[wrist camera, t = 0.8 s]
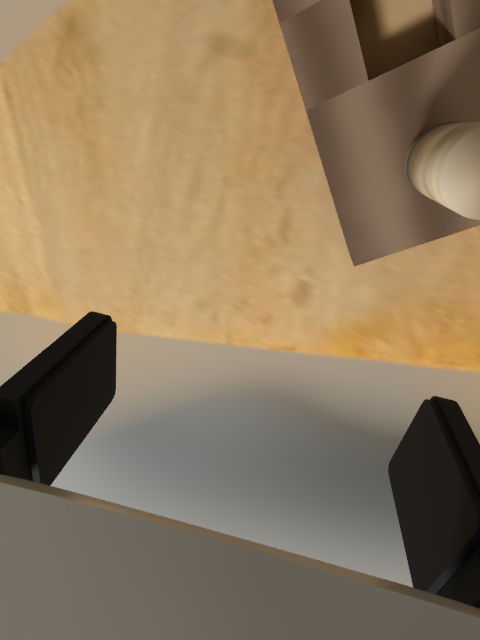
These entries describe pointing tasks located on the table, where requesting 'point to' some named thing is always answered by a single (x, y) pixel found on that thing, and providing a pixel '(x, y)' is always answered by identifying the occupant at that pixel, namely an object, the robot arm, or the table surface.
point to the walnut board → (381, 118)
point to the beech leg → (448, 166)
